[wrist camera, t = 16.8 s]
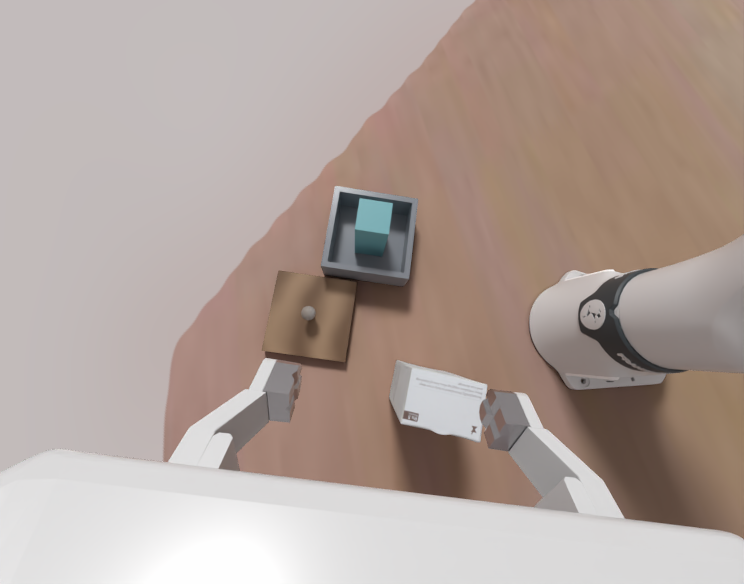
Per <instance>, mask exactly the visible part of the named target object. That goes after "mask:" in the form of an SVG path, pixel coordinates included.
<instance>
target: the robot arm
mask: <svg viewBox="0 0 744 584" xmlns="http://www.w3.org/2000/svg"><path fill="white" fill-rule="evenodd" d="M529 325H530V333H531V337H532V340H533V342H534V345H535V347H536V348H537V350H538V352H539V353H540V354H541V356H542V357H543V358H544V359H545V360H546V361H547V362H548V363H549V364H550V365H551V366H553V367H554V368H555V369H556V370H557V371H558V372H559V374H560V376H561V378H562V380H563V381H564V383H565V384H566V386H567V387H568V388H570V389H573V390H583V389H597V388H610V387H624V386H638V385H651V384H659V383H661V382H662V381H663V380H664V378H665V376H666V374H671V373H680V372H684V371H688V370H693V371H710V372H727V373H744V234H743V235H741V236H740V237H738V238H737V239H735V240H734V241H732V242H730V243H728V244H727V245H725V246H723V247H720V248H718V249H716V250H713V251H711V252H708V253H705V254H703V255H700V256H697V257H695V258H692V259H689V260H686V261H683V262H680V263H676V264H673V265H670V266H666V267H663V268H659V269H657V268H649V269H642V270H634V271H630V272H626V273H619V272H615V271H614V270H604V271H599V272H595V273H591V274H585V273H582V272H579V271H576V270H574V271H569V272H567V273H566V274H565V275H564V276H563V277H562V279H561V280H560V281H559V283H557V284H556V285H554V286H552V287H550V288H548V289H547V290H545V291H544V292H543V293H541V294H540V295H539V297H538V298H537V299H536V301H535V302H534V304H533V306H532V309H531V313H530V320H529ZM301 369H302V366H301V363H295V362H289V361H283V360H276V359H270V358H265V359H264V360H263V362H262V364H261V366H260V368H259V370H258V372H257V374H256V376H255V378H254V380H253V382H252V384H251V386H250V388H249V390H247V389H245V390H243V391H242V392H240V393H239V394H237V395H236V396H234V397H233V398H232V399H230V400H229V401H227V402H226V403H224V404H223V405H221V406H220V407H218V408H217V409H216V410H214V411H213V412H211V413H210V414H208V415H207V416H205V417H204V418H203V419H201V420H200V421H198V422H197V423H195V424H194V425H192V426H191V427H190V428H189V429H188V431H187V432H186V434H185V436H184V437H183V439H182V440H181V442H180V444H179V445H178V447H177V448H176V450H175V452H174V453H173V455H172V456H171V458H170V460H169V461H168V462H161V461H153V460H145V459H136V458H128V457H120V456H112V455H105V454H97V453H88V452H80V451H73V450H64V449H52V450H48V451H44V452H42V453H40V454H37V455H35V456H33V457H30V458H28V459H26V460H24V461H22V462H20V463H18V464H16V465H14V466H12V467H9V468H8V469H5V470H3V471H1V472H0V584H744V539H743V538H741V537H739V536H737V535H735V534H733V533H730V532H726V531H721V530H713V529H705V528H697V527H688V526H680V525H672V524H664V523H656V522H648V521H640V520H632V519H625V518H624V516H623V515H622V513H621V511H620V509H619V508H618V506H617V504H616V502H615V501H614V499H613V497H612V495H611V494H610V492H609V490H608V488H607V487H606V485H605V483H604V481H603V480H602V479H601V478H600V477H599V476H598V475H596V474H595V473H594V472H593V471H592V470H591V469H590V468H589V467H588V466H587V465H586V464H584V463H583V462H582V461H581V460H580V459H579V458H578V457H577V456H576V455H575V454H574V453H572V452H571V451H570V450H569V449H568V448H567V447H566V446H565V445H564V444H563V443H562V442H560V441H559V440H558V439H557V438H556V437H555V436H554V435H553V434H552V433H551V432H550V431H548V430H547V429H544V428H543V426H542V424H541V422H540V420H539V418H538V416H537V414H536V412H535V409H534V407H533V405H532V403H531V401H530V399H529V397H528V396H527V395H526V394H524V393H517V392H511V391H503V390H495V389H490V390H488V392H487V394H486V396H487V399H485V400H483V401H482V403H481V405H480V409H479V416H480V420H481V423H482V424H483V425H484V426H485V428H486V430H485V432H484V434H485V438H486V441H487V444H488V448H490V449H496V450H503V451H509V452H508V453H509V454H510V455H511V457H512V458H513V459H514V461H515V462H516V463H517V464H518V466H519V467H520V468H521V470H522V471H523V472H524V473H525V475H526V476H527V477H528V479H529V480H530V481H531V482H532V484H533V485H534V486H535V488H536V489H537V490H538V492H539V493H540V494H541V495H542V497H543V498H542V499H541V500H540V501H539V502H538V503H537V504H536V505H535V506H534V507H526V506H518V505H509V504H501V503H493V502H485V501H477V500H469V499H461V498H453V497H445V496H437V495H429V494H421V493H413V492H405V491H396V490H388V489H380V488H372V487H364V486H356V485H348V484H339V483H331V482H323V481H315V480H307V479H299V478H291V477H283V476H274V475H266V474H258V473H250V472H242V471H240V468H239V464H238V459H237V455H236V453H237V452H238V451H239V450H240V449H241V448H242V447H243V446H244V445H245V444H246V443H247V442H248V441H250V440H251V439H252V438H253V437H254V436H255V435H256V434H257V433H258V432H259V431H260V430H261V429H262V428H263V427H264V426H265V425H266V424H267V423H268V422H269V420H270V421H280V422H290V421H291V417H292V414H293V411H294V408H295V400H296V399H298V395H299V392H300V387H301V378H302V376H301V375H300V373H301ZM581 379H582V380H583V382H582V383H581Z"/></svg>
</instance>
